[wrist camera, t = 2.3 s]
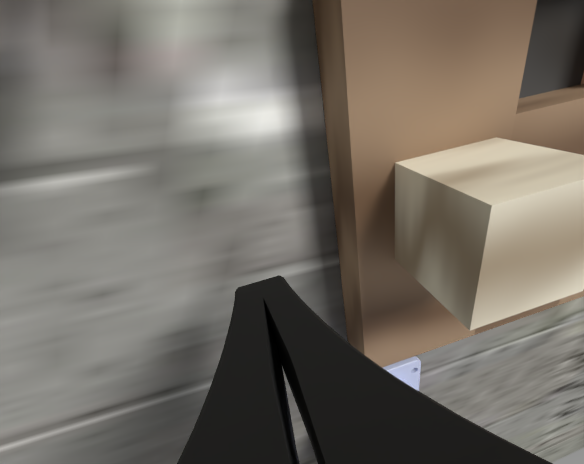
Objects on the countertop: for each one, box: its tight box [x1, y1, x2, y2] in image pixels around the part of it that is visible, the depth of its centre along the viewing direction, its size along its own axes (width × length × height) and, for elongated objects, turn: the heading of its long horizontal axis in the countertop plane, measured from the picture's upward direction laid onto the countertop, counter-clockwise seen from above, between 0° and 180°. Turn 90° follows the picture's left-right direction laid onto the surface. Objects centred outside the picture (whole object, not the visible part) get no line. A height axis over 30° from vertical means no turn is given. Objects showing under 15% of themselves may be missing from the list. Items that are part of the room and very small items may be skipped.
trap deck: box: [312, 0, 584, 367], centre depth 15 cm, size 19×22×2 cm
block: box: [395, 137, 584, 330], centre depth 11 cm, size 4×4×4 cm
